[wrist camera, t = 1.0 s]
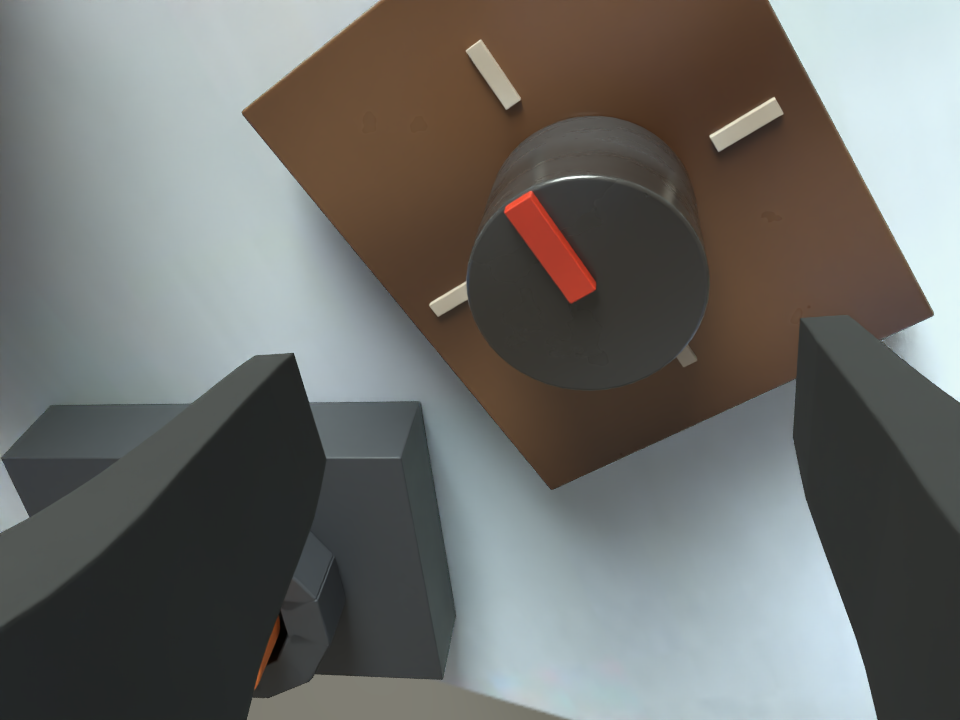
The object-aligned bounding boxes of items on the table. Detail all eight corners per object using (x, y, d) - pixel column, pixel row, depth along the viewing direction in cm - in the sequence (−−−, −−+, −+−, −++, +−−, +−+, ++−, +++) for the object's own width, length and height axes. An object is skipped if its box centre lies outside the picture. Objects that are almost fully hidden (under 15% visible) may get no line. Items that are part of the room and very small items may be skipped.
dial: (733, 245, 19) (757, 335, 16) (560, 338, 21) (550, 435, 17) (626, 70, 17) (628, 131, 14) (448, 187, 19) (414, 264, 16)
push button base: (420, 400, 26) (386, 502, 22) (456, 615, 31) (433, 729, 27) (50, 404, 28) (-39, 498, 24) (136, 605, 33) (73, 710, 29)
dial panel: (899, 256, 22) (938, 320, 19) (557, 424, 26) (550, 495, 23) (648, -215, 17) (653, -218, 15) (284, 76, 21) (237, 115, 19)
